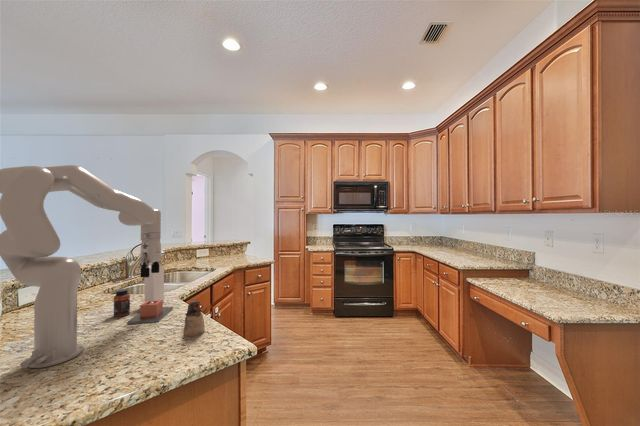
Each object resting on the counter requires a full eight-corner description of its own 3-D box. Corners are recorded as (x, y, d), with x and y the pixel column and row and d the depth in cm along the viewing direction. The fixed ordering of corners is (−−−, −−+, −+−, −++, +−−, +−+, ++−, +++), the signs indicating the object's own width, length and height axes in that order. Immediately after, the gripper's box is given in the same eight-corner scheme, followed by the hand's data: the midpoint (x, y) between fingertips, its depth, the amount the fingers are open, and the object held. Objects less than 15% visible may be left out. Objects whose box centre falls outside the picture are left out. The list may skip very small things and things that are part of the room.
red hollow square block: (156, 315, 113) (156, 304, 113) (140, 317, 112) (140, 305, 112) (162, 310, 119) (162, 299, 120) (147, 311, 118) (147, 300, 118)
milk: (155, 302, 135) (155, 259, 136) (164, 303, 133) (164, 260, 134) (144, 305, 129) (144, 261, 130) (153, 306, 128) (153, 262, 128)
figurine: (197, 327, 103) (197, 297, 103) (208, 331, 100) (208, 299, 100) (179, 334, 97) (179, 302, 97) (190, 338, 93) (190, 305, 94)
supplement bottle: (133, 312, 120) (133, 288, 120) (122, 317, 114) (122, 292, 114) (121, 312, 120) (121, 288, 121) (110, 317, 115) (110, 291, 115)
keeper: (158, 321, 109) (158, 306, 109) (127, 324, 107) (127, 309, 107) (173, 308, 125) (173, 295, 125) (145, 310, 123) (145, 297, 123)
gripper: (150, 237, 108) (150, 278, 108) (167, 235, 125) (167, 270, 125) (131, 237, 107) (130, 279, 106) (150, 235, 124) (150, 271, 123)
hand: (150, 274), depth 115 cm, fingers open, 9 cm apart
